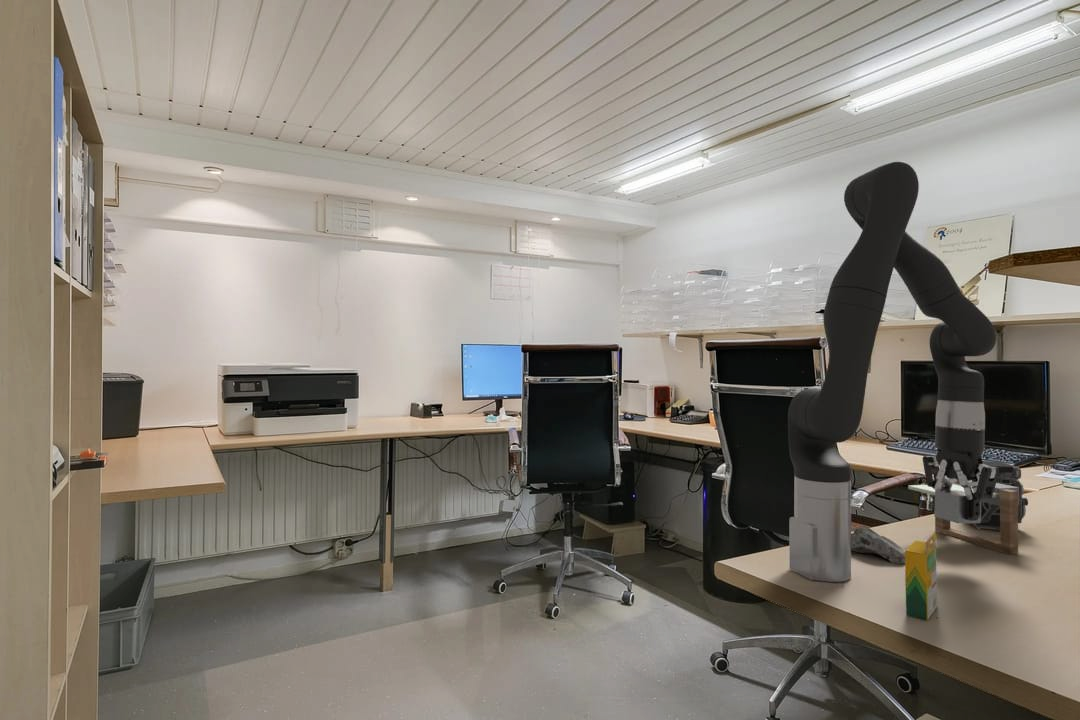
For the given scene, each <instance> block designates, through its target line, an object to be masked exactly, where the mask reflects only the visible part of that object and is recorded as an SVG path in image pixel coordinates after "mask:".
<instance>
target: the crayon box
mask: <svg viewBox="0 0 1080 720" xmlns="http://www.w3.org/2000/svg"><path fill="white" fill-rule="evenodd" d="M904 552H905V564H904V568H905V569H904V571H905V572H904V573H905V575H904V576H905V577H904V578H905V580H904V581H905V613H906V616H907V615H908V617H911V616H912V618H915V619H919V620H923V621H929V619H930V618H931V616H932V615H933V614H934V612H935V610H936V608H938V589H937V588H938V586H937V585H938V584H937V581H938V580H937V579H938V577H937V531H934V533H933V534H932V535H930V537H929V538H928V539H927V541H921V540H914V541H913V542H912V543H911V544H910V545H909V547H907V548H906V549H905V550H904Z"/></svg>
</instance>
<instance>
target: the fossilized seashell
mask: <svg viewBox="0 0 1080 720" xmlns="http://www.w3.org/2000/svg"><path fill="white" fill-rule="evenodd" d="M851 552H855V553H860V554H865V553H866V554H868V555H879V556H881V557H882V558H884V559H886V560H888V561H889V562H890V563H892V564H897V563H898V564H901V565H902V564H903V565H905V550H904V549H903V548H902V547H901V546H900V545H898V544H897V543H896V542H894V541H893V540H891V539H889V538H887V537H885V536H884V535H880V534H879V533H877V532H876V531H874V530H873V529H871V528H870V527H868V526H865V525H862V526H858V527H856V528H854V529H853V532H851ZM866 554H865V555H866Z"/></svg>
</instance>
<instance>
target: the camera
mask: <svg viewBox="0 0 1080 720" xmlns="http://www.w3.org/2000/svg"><path fill="white" fill-rule="evenodd" d="M982 461H983V463H984V464H985V465H988V466H990V467H997V468H998V469H999V475H998V478H997V482H996V483H1000V484H1004V485H1009V486H1014V487H1019V505H1018V524H1022V520H1023V518H1025V516H1026V514H1027V509H1026V506H1028V505H1029V500H1028V498H1027V497H1023V495H1024V491H1025V490H1024V484H1022V482H1021V481H1020V479H1021V478H1022V469H1021V468H1020V467H1018V466H1016V465H1012V464H1010V463H1007V462H1001V461H999V460H998V461H997V460H982ZM979 472H980V471H979ZM979 472H978V473H979ZM978 475H979V474H978ZM979 478H980V475H979ZM971 524H972V525H973V526H974V527H975V528H976V529H977V530H979V529H980V530H981V529H987V530H999V531H1000V506H998V505H994V504H990V503H985V502H981V523H971Z"/></svg>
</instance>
